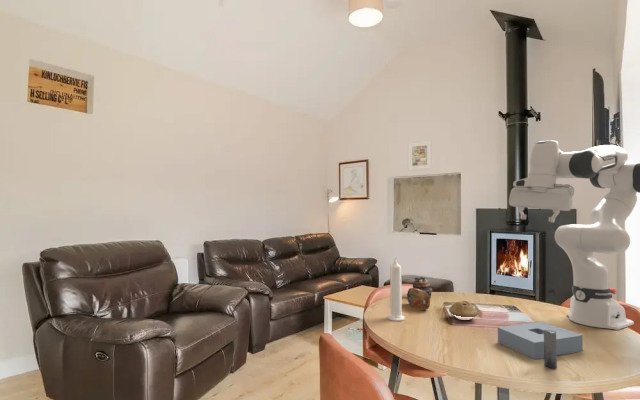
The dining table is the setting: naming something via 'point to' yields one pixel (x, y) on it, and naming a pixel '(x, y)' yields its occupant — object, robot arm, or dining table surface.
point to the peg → (550, 349)
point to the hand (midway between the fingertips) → (536, 220)
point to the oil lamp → (463, 309)
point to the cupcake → (422, 285)
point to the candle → (396, 292)
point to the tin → (418, 299)
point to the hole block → (538, 339)
